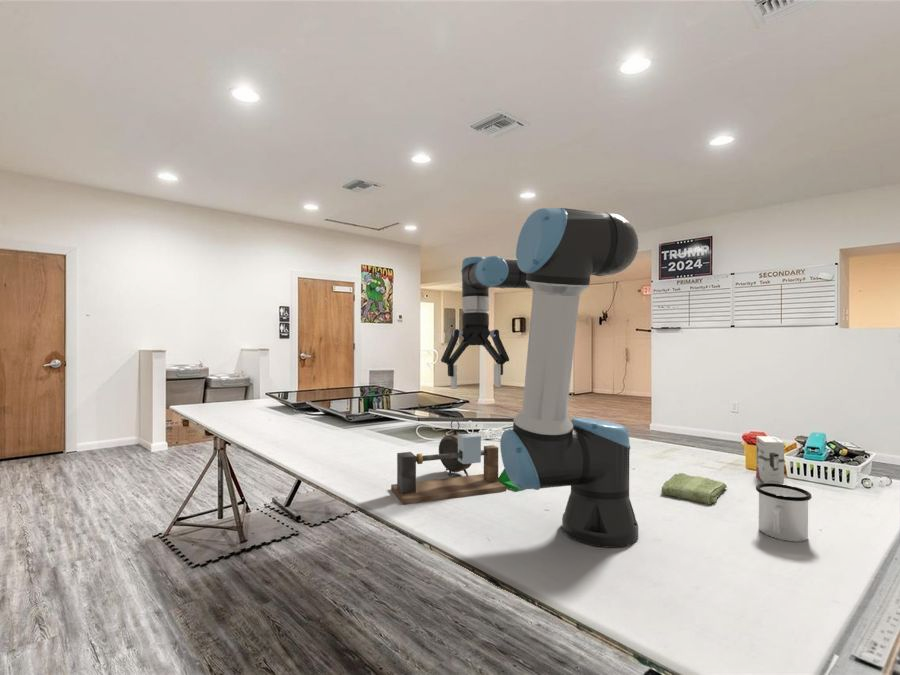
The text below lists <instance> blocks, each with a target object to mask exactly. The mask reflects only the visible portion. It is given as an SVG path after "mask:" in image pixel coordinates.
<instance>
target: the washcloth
mask: <svg viewBox="0 0 900 675" xmlns="http://www.w3.org/2000/svg"><path fill="white" fill-rule="evenodd" d="M727 487H728V486H727V484H726V483H724V482H723V481H720V480H714V479H711V478H708V477H703V476H700V475H695V476H694V475H689V474H686V473H684V472H679V473H675V474H674V475H673V476H672V477H671V478H669V479H668V480H665V482H664V483H663V485H662V487H661V493H662V494H663V495H664V496H667V495H669V497H673V498H678V499H684V500H689V501H693V502H697V503H700V504H701V503H702V504H706V505H713V504H714V503H716V502H717V500H718V498H719V496H720V495H721V494H722V492H724V491H725V489H727ZM717 497H718V498H717Z"/></svg>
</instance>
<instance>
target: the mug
mask: <svg viewBox="0 0 900 675" xmlns="http://www.w3.org/2000/svg"><path fill="white" fill-rule="evenodd" d="M755 490H756V491H757V493H758V530H759V531H760V532H762V533H763V534H764V533H765V535H766V536H768V535H769V536H768V537H770V536H771V538H773V537H774V539H776V538H777V540H781V541H785V540H786V542H793V541H794V542H795V543H798V542H799V541H800V542H803V541H806V540H808V539H809V501H810V500H811V499H812V493H811V492H809V491H808V490H805V489H803V488H801V487H797V486H794V485H788V484H784V485H783V484H775V483H764V482H763V483H758V484H757V485H755Z"/></svg>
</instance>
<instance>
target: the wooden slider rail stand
mask: <svg viewBox="0 0 900 675" xmlns="http://www.w3.org/2000/svg"><path fill="white" fill-rule="evenodd" d="M396 455H397V456H396V461H397V462H396V463H397V464H396V465H397V466H396V468H397V470H396V471H397V472H396V483H394V484H391V487H390V490H391V491H392V493H394V495H395V496H396V498H398V500H399V501H400V502H401V504H402V505H409V504H415V503H422V502H431V501H438V500H445V499H452V498H462V497H469V496H476V495H483V494H484V495H485V494H491V493H493V494H494V493H498V492H499V493H500V492H506V491H507V487H506V486H505V485H503V484H502V483H500V482H499V481H498V478H499V447H498V446H496V445H494V444H492V445H483V449H481V456H483V473H482V474H481V473H480V474H473V475H468V476H466V475H463V476H456V477H448V478H436V479H429V480H428V479H427V480H421V481H417V465H422V464H423V462H429V461H438V460H440V461H441V459H451V458H461V457H462V452H457V453H446V454H439V453H437V454H426V455H423V454H422V453H417V454H416V455H415V454H414V453H413V452H411V451H405V452H397V453H396Z"/></svg>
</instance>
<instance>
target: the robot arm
mask: <svg viewBox="0 0 900 675" xmlns="http://www.w3.org/2000/svg"><path fill="white" fill-rule="evenodd" d="M515 250H516V252H515V258H516V259H504V258H502V257H500V256H497V255H491V256H486V257H484V256H469V257H464V258H463V260H462V264H461V265H462V266H461V288H462V290H461V291H462V294H461V295H462V297H461V299H462V300H461V301H462V304H461V308H462V312H464V313H462V314H461V315H462V318H461V319H462V322H461V323H462V329H458V328H456V329H454V328H453V329H452V330H451V335H450V336H451V337H450V339H449V341H448V343H447V345H446V348H445V350H444V353H443V354H442V356H441V358H440V362H441V363H444V364H446V365H447V377H449V378H450V389H453V390H457V389H458V373H457V372H458V365H457V364H456V362H457V361H458V360H459V358H460V357H461V355H462V354H463V353H464V351H466V349H467V348H468V347H469V346H482V347H484V349H485V350H486V351H487V353H488V354H489V355H490V356H491V358H492V359H493V360H494V362H495V363H494V364H493V387H496V388H501V387H502V384H501V383H502V382H501V381H502V379H501V378H502V377H501V376H503V374H504V365H505V363H507V362H509V361H510V357H509V356H508V352H507V351H506V348H505V346H504V344H503V342H502V339H501V338H500V331H499V329H492V330H490V328H489V325H490V320H489V319H490V314H489V313H488V312H489V310H490V309H489V307H490V304H489V302H490V301H489V300H490V299H489V298H490V297H489V296H490V295H489V290H490V289H489V288H491V289H492V288H497V289H498V288H499V289H526V290H527V289H529V290H530V289H531V290H532V299H531V310H530V319H529V323H530V324H529V332H528V343H527V344H528V345H527V356H526V364H525V365H526V366H525V375H524V387H523V388H524V389H523V399H522V407H521V408H522V409H521V411H519V412H518V413H517V414H516V415H514V418H513V422H512V423H513V424H512V428H510V429H507V430H506V429H505V430H504V431H503V432H502V434H501V436H500V443H499V444H500V446H499V447H500V456H501V460H502V464H503V467H504V468H505V471H506V473H507V476H508V478H509V479H510V481H511V482H512V483H513V485H514V486H516V487H517V488H519V489H524V490H536V491H538V490H540V489H547V488H559V487H570V494H569V496H568V499H567V503H566V506H565V510H564V512H563V514H562V518H561V529H562V531H563V533H564V534H566V536H568V537H569V538H571V539H573V540H575V541H577V542H580V543H583V544H587V545H590V546H596V547H604V548H605V547H606V548H621V547H627V546H630V545H632V544H635V543H636V542H637V541H638V539H639V523H638V520H637V519H636V514H635V511H634V509H633V506H632V505H633V504H632V501H631V499H630V450H631V445H630V433H629V430H628V429H627V427H626V426H624V425H622V424H620V423H619V424H618V423H616V422H612V421H607V420H602V419H595V418H588V417H572V418H571V420H570V419H569V418H568V415H567V414H568V406H569V397H570V386H571V377H572V369H573V360H574V351H575V342H576V332H577V323H578V313H579V307H580V306H579V305H580V298H581V296H580V295H581V294H582V293H583V292H584V291H585V290H587V289H588V288H589V287H590V285H591V284H590V283H591V276H594V277H604V276H610V275H615V274H618V273H621V272H623V271H624V270H627V268H629V266H630V265H631V264H632V263H633V262H634V260H635V259H636V257H637V254H638V250H639V239H638V234H637V232H636V229H635V227H634V226H633V225H632V223H631V222H630V221H628V220H627V219H626V218H624V217H623V216H622V215H619V214H616V213H613V212H605V211H603V212H602V211H592V210H584V209H583V210H582V209H576V208H567V207H542V208H537V209H536V210H534V211H533V212H531V214H530V215H529V216H527V218H526V220H525V222H524V223H523V225H522V227H521V229H520V232H519V234H518V239H517V243H516V249H515ZM460 337H462V338H463V339H462V341H461V342H460V344H459V345H458V347H457V348H456V349H455V346H456V345H457V343H458V341H459V338H460ZM489 337H490V338H491V340H492V341H493V342H491V341H490V339H489ZM492 343H493V344H494V346H495V347H494V346H493V345H492ZM495 348H496V349H495ZM454 349H455V351H454ZM453 351H454V352H453Z"/></svg>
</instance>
